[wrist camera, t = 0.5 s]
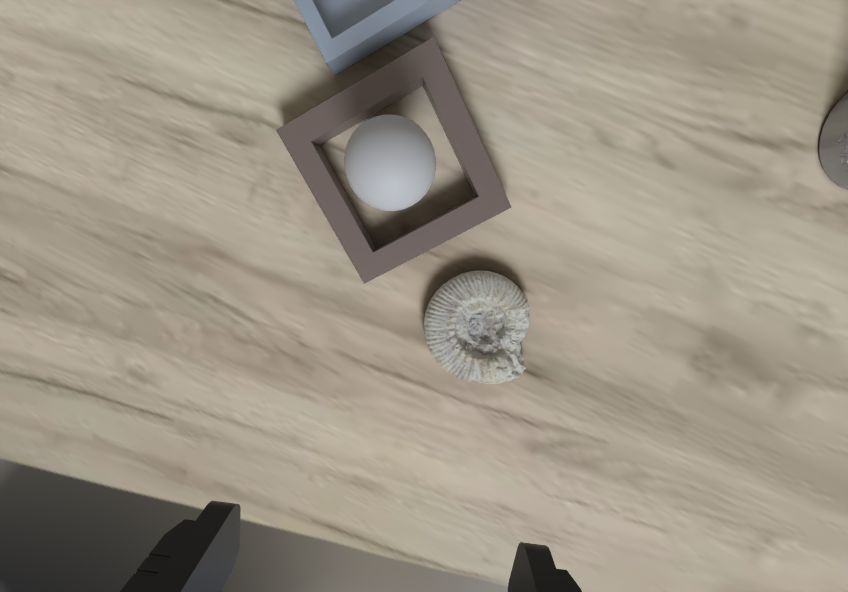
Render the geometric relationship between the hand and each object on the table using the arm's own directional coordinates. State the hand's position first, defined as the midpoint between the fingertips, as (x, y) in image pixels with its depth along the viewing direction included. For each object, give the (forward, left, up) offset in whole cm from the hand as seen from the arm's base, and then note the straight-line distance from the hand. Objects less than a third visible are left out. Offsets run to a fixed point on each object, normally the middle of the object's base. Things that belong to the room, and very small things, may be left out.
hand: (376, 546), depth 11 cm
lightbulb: (-4, -11, -27) cm, 29 cm away
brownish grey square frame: (-4, -11, -27) cm, 29 cm away
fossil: (-4, +5, -27) cm, 28 cm away
